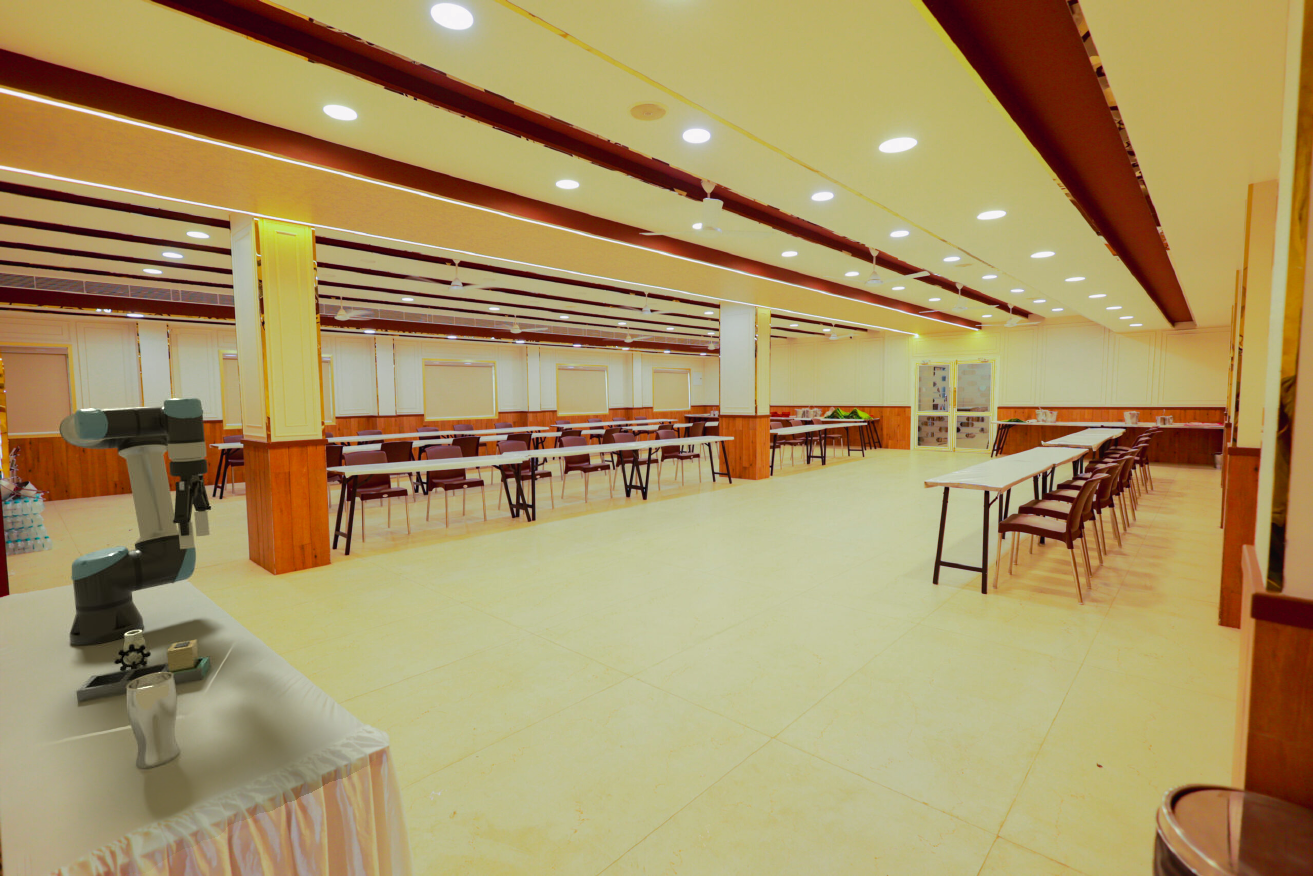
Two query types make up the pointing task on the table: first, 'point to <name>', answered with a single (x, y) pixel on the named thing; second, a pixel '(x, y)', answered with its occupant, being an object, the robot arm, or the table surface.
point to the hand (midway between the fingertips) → (195, 541)
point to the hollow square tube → (183, 656)
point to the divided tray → (119, 680)
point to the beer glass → (153, 718)
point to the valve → (133, 650)
